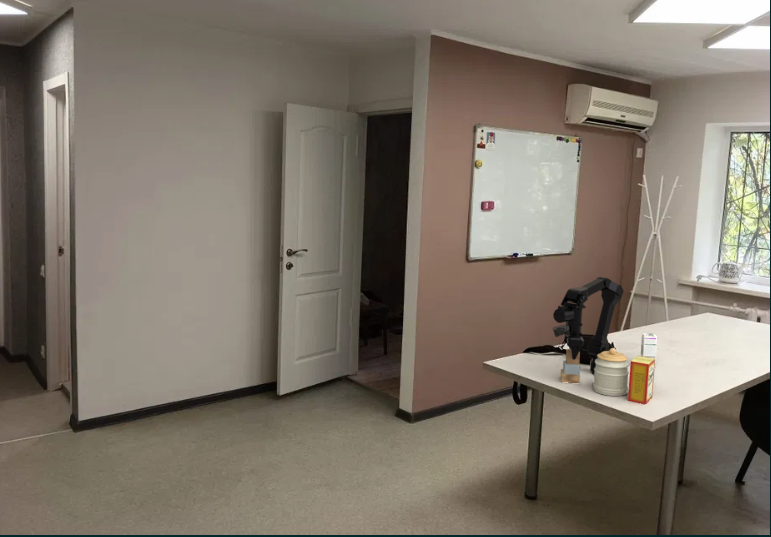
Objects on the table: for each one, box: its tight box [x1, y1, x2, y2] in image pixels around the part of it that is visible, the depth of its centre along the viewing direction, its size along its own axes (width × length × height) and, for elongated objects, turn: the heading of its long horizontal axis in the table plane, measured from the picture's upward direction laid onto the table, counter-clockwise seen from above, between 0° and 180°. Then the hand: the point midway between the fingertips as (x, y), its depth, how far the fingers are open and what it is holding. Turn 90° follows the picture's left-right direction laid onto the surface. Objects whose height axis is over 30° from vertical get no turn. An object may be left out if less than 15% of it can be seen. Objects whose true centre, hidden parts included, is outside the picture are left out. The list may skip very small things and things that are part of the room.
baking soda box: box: [627, 355, 656, 405], centre depth 243 cm, size 10×6×16 cm
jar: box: [592, 347, 630, 397], centre depth 251 cm, size 13×13×18 cm
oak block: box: [560, 368, 581, 384], centre depth 265 cm, size 7×7×4 cm
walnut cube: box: [565, 348, 581, 365], centre depth 263 cm, size 5×5×5 cm
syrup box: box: [640, 332, 658, 368], centre depth 285 cm, size 6×6×14 cm
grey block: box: [562, 359, 581, 376], centre depth 264 cm, size 6×6×4 cm
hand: (572, 356), depth 263 cm, fingers open, 9 cm apart
